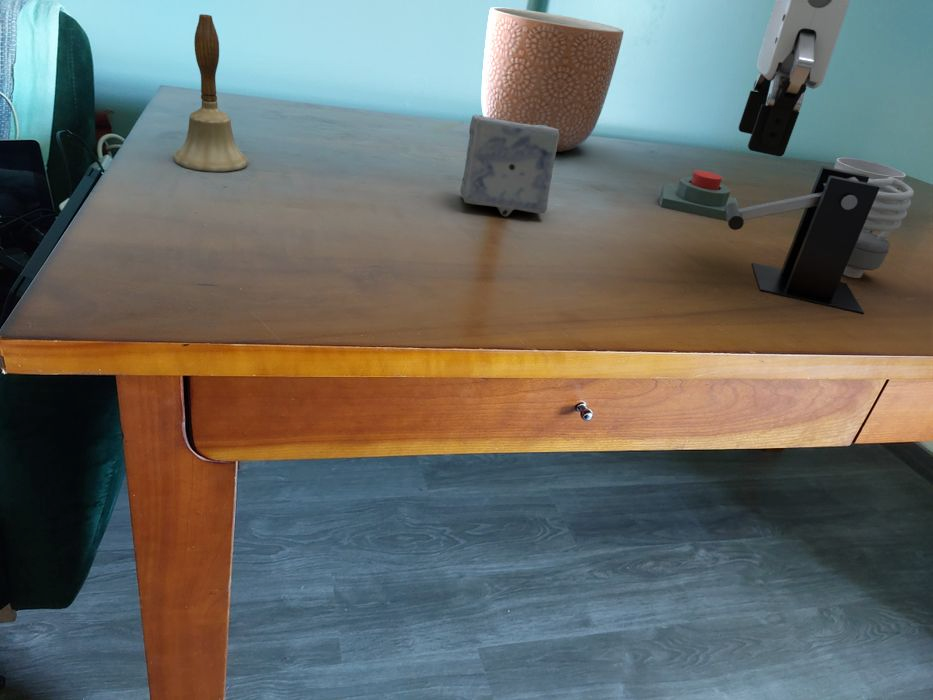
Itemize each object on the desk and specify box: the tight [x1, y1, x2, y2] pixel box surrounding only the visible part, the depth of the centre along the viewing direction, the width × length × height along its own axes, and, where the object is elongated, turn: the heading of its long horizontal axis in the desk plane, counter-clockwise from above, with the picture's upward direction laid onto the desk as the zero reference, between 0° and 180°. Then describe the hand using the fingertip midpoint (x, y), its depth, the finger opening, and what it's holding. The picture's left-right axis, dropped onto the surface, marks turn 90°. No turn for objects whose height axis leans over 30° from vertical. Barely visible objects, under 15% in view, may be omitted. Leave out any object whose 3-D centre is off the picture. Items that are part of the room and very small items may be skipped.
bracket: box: [751, 165, 880, 315], centre depth 73 cm, size 10×8×13 cm
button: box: [691, 170, 723, 190], centre depth 96 cm, size 4×4×2 cm
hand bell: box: [173, 13, 249, 173], centre depth 83 cm, size 8×8×16 cm
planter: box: [481, 6, 624, 153], centre depth 116 cm, size 21×21×19 cm
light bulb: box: [842, 177, 915, 279], centre depth 80 cm, size 6×6×12 cm
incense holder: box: [459, 114, 559, 217], centre depth 85 cm, size 10×8×10 cm
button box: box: [658, 176, 740, 222], centre depth 97 cm, size 10×8×4 cm
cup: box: [833, 157, 907, 234], centre depth 94 cm, size 8×8×10 cm
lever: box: [725, 177, 858, 231], centre depth 72 cm, size 12×5×2 cm, turn 76°
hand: (758, 142), depth 71 cm, fingers open, 9 cm apart
